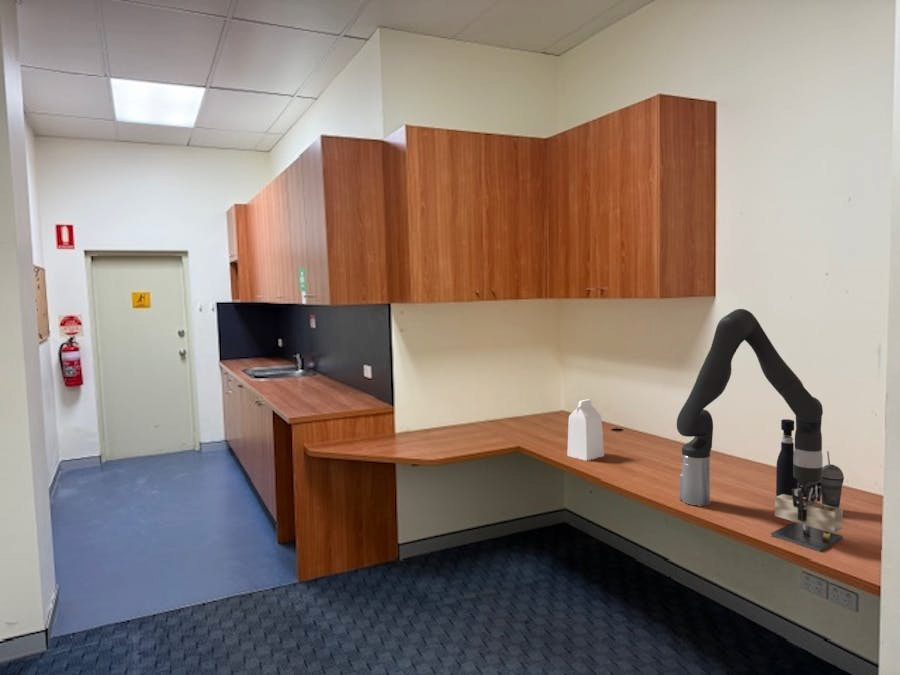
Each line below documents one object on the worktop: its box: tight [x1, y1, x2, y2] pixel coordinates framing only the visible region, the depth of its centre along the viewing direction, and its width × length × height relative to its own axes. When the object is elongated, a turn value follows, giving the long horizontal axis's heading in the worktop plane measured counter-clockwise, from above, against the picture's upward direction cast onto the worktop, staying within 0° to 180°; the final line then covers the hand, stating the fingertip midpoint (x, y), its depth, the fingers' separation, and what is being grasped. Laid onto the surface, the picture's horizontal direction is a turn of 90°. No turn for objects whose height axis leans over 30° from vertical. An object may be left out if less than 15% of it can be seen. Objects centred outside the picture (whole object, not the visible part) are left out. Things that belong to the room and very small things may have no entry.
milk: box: [566, 398, 605, 462], centre depth 274 cm, size 12×12×26 cm
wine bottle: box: [775, 419, 798, 497], centre depth 205 cm, size 6×6×30 cm
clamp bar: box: [774, 494, 844, 534], centre depth 180 cm, size 17×5×6 cm, turn 33°
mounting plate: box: [770, 521, 844, 553], centre depth 180 cm, size 14×14×8 cm
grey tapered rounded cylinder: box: [819, 450, 845, 509], centre depth 201 cm, size 7×7×20 cm
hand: (806, 518), depth 180 cm, fingers closed on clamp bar, 5 cm apart
